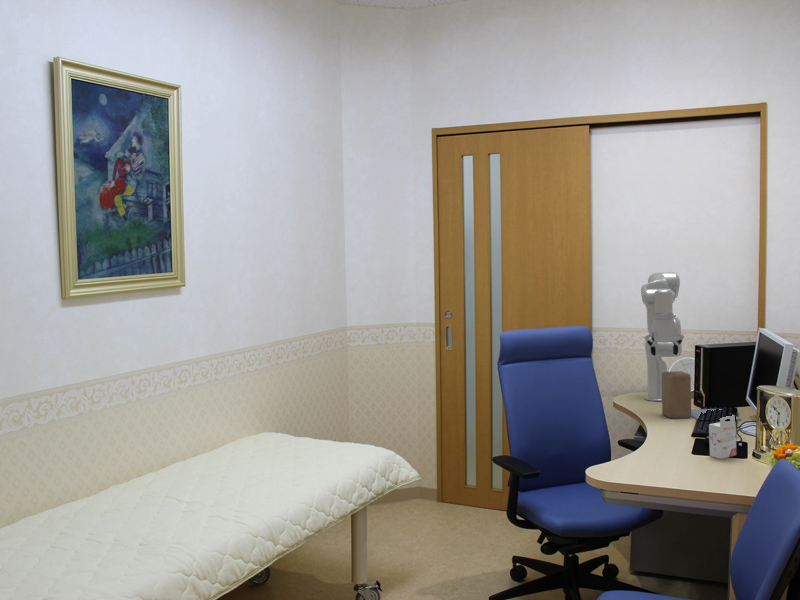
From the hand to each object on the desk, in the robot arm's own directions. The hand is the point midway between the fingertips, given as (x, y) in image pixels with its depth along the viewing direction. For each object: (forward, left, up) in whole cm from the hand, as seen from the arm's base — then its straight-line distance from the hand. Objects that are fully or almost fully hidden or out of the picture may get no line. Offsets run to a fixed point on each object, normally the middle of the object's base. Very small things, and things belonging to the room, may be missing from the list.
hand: (664, 354), depth 301 cm
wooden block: (-3, +6, -29) cm, 30 cm away
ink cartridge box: (+63, 0, -29) cm, 70 cm away
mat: (-3, +21, -29) cm, 35 cm away
